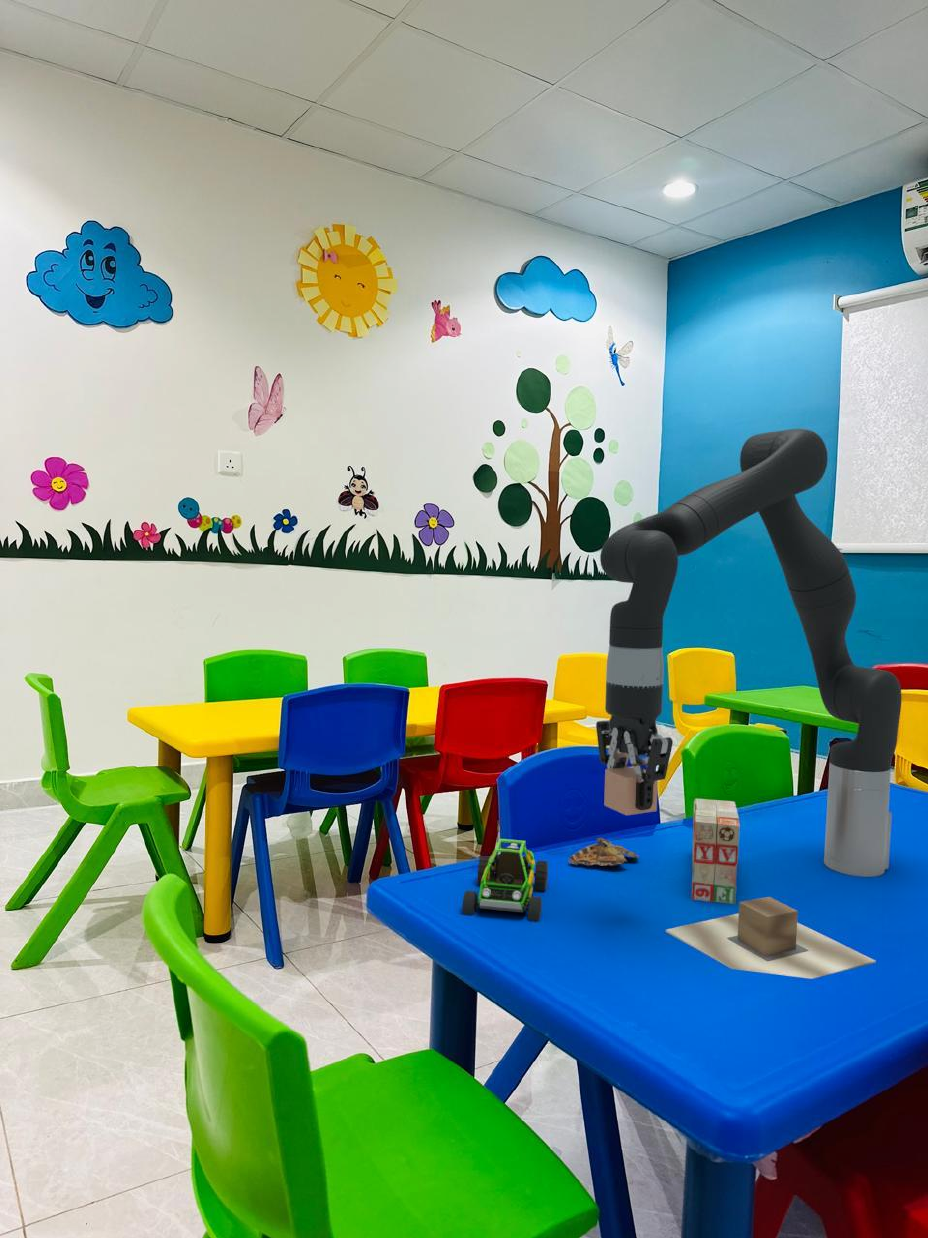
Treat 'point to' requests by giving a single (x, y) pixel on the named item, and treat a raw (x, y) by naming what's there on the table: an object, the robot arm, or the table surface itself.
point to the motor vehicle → (508, 881)
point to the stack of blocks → (715, 850)
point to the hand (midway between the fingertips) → (630, 802)
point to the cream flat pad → (805, 961)
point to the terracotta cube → (624, 791)
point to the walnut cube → (767, 926)
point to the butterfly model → (601, 854)
